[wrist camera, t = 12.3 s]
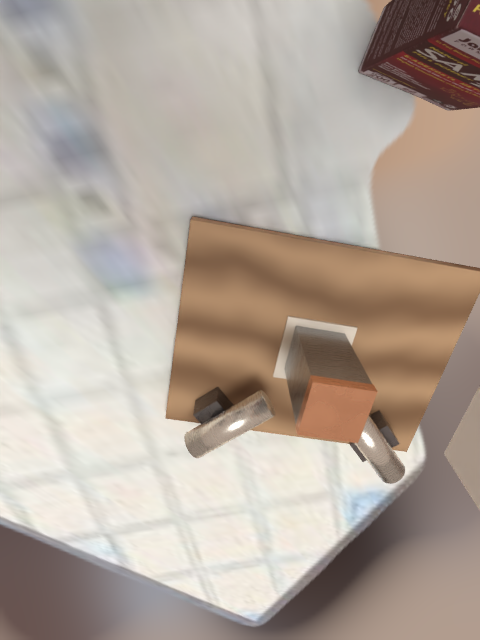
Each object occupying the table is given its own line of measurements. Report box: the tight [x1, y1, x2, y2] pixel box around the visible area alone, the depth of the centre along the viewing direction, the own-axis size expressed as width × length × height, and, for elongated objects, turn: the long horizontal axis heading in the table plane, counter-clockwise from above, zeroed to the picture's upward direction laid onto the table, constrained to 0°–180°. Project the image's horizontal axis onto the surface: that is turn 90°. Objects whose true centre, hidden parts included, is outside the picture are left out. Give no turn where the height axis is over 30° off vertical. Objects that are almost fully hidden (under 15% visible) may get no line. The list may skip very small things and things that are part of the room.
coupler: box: [284, 326, 378, 443], centre depth 36 cm, size 5×5×10 cm
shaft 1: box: [184, 387, 275, 458], centre depth 41 cm, size 9×4×5 cm, turn 125°
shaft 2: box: [349, 410, 405, 483], centre depth 42 cm, size 9×4×5 cm, turn 35°
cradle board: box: [166, 217, 480, 452], centre depth 41 cm, size 22×28×2 cm
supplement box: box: [359, 0, 480, 110], centre depth 24 cm, size 9×5×16 cm, turn 71°
